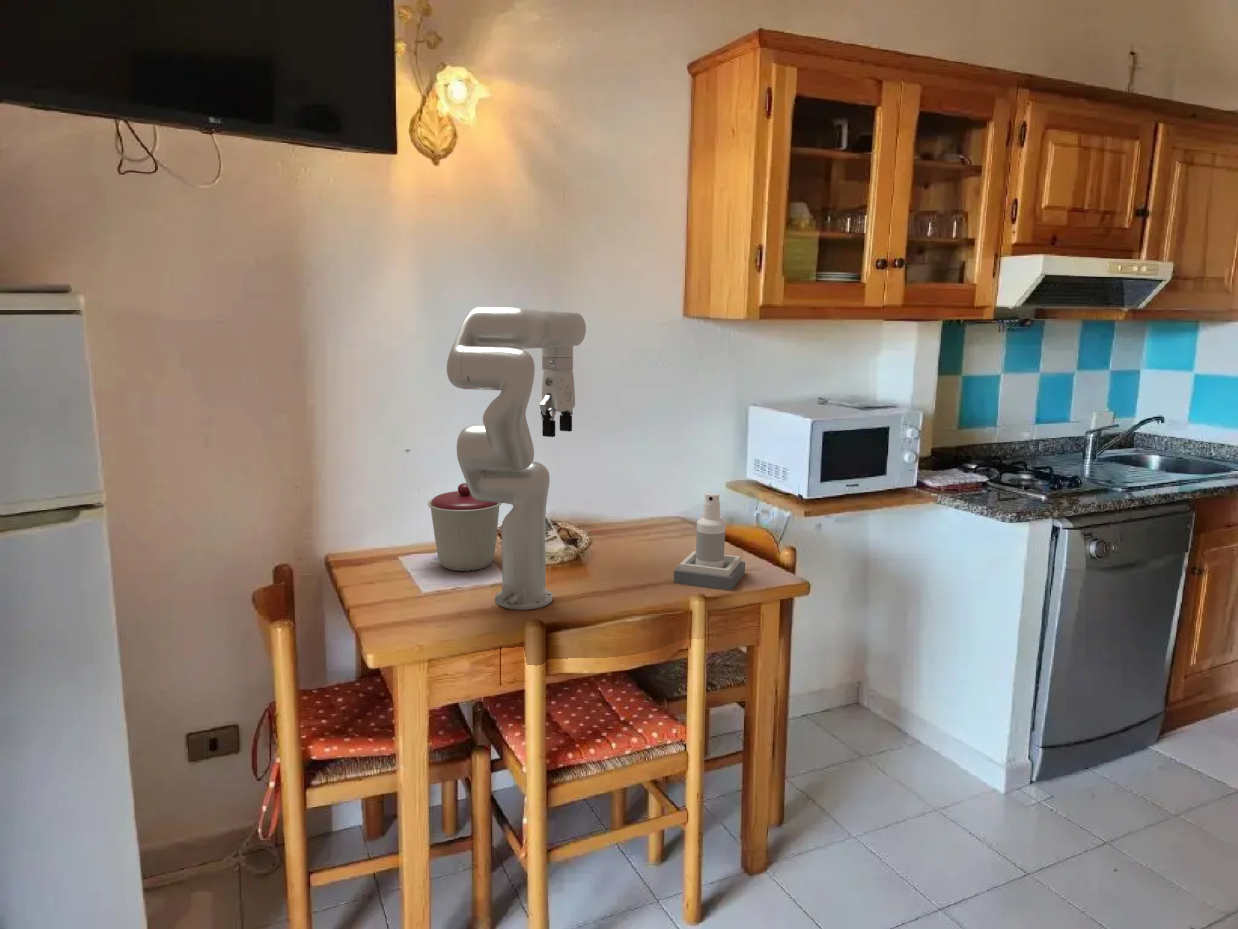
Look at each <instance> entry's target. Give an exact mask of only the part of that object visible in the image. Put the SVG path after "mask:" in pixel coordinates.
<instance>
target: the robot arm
mask: <svg viewBox="0 0 1238 929" xmlns="http://www.w3.org/2000/svg"><path fill="white" fill-rule="evenodd" d="M586 326H587V325H586V322H585V319H584V317H583V316H582V314H581V313H578V312H567V311H566V312H565V311H556V310H554V311H553V310H547V309H541V308H539V309H538V308H527V307H507V306H506V307H504V306H503V307H499V306H498V307H497V306H478V307H475V308H473V309H471V310H470V311H469V312H468V313H467V315H466V316H465V318H464V320H462V323H461V325H460V328H459V329H458V332H457V334H456V337H455V339H454V342H453V344H452V345H451V346H452V347H451V349H450V352H449V355H448V357H447V360H446V361H447V363H446V375H447V378H448V381H449V382H450V384H451V385H453V386H454V387H455V388H457V389H461V390H475V391H476V390H480V391H481V390H482V391H500V393H499V394H498V395H497V397H495V398H494V399H493V400H492V401H491V402H490V403H489V405H488V406H487V408H486V409H485V410H484V412H483V416H482V424H471V425H467V426H465V427H464V428H463V429H461V431H460V433H459V435H458V438H457V442H456V457H457V461H458V464H459V467H460V470H461V473H462V475H463V479H464V480H465V483H467V486H468V488H469V491H470V493H471V495H472V496H473V497H474V498H475V499H476V500H478V501H482V502H494V503H502V504H507V505H511V506H512V508H511V510H510V511H509V512H508V513H507V514H506V515H505V517H504V518H503V521H502V523H501V564H502V565H501V573H502V574H501V578H502V580H501V582H502V584H501V589H502V590H500V591H499V592H497V593H496V594H495V597H494V602H495V604H496V605H498V606H500V607H502V608H505V609H510V610H516V611H517V610H519V611H520V610H521V611H522V610H523V611H524V610H535V609H540V608H543V607H547V606H548V605H549V604H550V603H552V601H553V593H552V592H551V591H550V590H548V589H547V588H546V515H547V511H546V510H547V503H548V496H549V495H548V494H549V488H550V479H551V478H550V472H549V470H548V468H547V467H546V466H545V465H543V464H542V463H540V462H537V461H535V460H534V459H535V458H534V457H535V449H534V443H533V439H532V436H531V432H530V428H529V424H528V421H527V417H526V416H527V414H526V413H527V412H526V411H527V408H528V405H529V402H530V398H531V395H532V391H533V385H534V382H535V381H534V379H535V370H536V369H535V368H536V366H535V361H534V358H533V356H532V354H530V353H529V352H528V351H526V349H527V350H528V349H541V361H542V362H541V367H542V368H541V370H542V371H543V373H542V382H541V383H542V384H541V402H539V408H540V416H541V422H542V429H541V430H542V432H541V433H542V437H547V438H554V437H556V419H555V417H556V414H557V412H558V413H560V415H559V431H560V432H570V433H571V432H572V431H573V409H575V406H576V395H575V393H576V392H575V378H574V347H576V346H577V347H578V346H579V345H581V344H582V343H583V342H584V339H585V336H586V333H587V332H586V331H587V330H586V329H587V327H586Z"/></svg>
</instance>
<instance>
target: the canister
mask: <svg viewBox="0 0 1238 929" xmlns="http://www.w3.org/2000/svg"><path fill="white" fill-rule="evenodd" d="M502 504H503V503H494V502H482V501H478V500H476V499H475V498H474V497H473V496H472V495H471V493H470V491H469V488H468V486H467V483H466V482H465V483H464V482H463V483H460V484H459V485H457V490H454V491H448V492H444V493H441V494H438V495H436V496H435V497H433V498H431V499H430V500H428V502H427V505H428V507H429V509H430V512H431V521H432V526H433V528H432V529H433V535H434V542H435V546H436V553H437V558H438V561H439V562H440V564H441V565H442V566H443V567H444V568H446V569H448V570H451V571H455V570H457V572H471V571H470V570H472V571H476V570H477V571H478V570H482V569H485V568H487V567H489V565H490V564H492V562H493V559H494V558H495V557H494V556H495V554H496V553H495V552H496V543H497V537H498V536H497V534H498V526H499V514H500V506H501V505H502Z"/></svg>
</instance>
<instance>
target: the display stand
mask: <svg viewBox="0 0 1238 929" xmlns="http://www.w3.org/2000/svg"><path fill="white" fill-rule="evenodd" d="M745 573H746V561H744V560H743V561H742V558H741V556H740V555H732V554H725V553H724V566H723V568H717V567H709V566H701V565H696V550H693V551H692V552H691V553H690V554H688V555H687V556H686V557H685V558H684V559H683V560H682V561H681V562H680V563H679V566H678V567H677V568H675V569H674V571H673V583H674V584H680V585H688V586H692V587H693V586H695V587H702V588H709V589H716V590H722V589H727V590H726V591H730V590H731V591H732V590H733V589H734V588H735V587H736V585H737V584H738V583H739V582H740V581H741V579H742V578H743V576H744V575H745Z"/></svg>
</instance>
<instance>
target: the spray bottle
mask: <svg viewBox="0 0 1238 929" xmlns="http://www.w3.org/2000/svg"><path fill="white" fill-rule="evenodd" d="M720 510H721V502H720V493H719V492H718V493H717V492H716V493H711V492H705V493H704V502H703V511H702V517H701V518H699V519H698V520H697V521H696V538H695V539H696V540H695V541H696V542H695V543H696V544H695V551H696V565H701V566H709V567H717V568H723V566H724V554H725V541H726V522H725V521H724V519H722V518H721V511H720Z"/></svg>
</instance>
